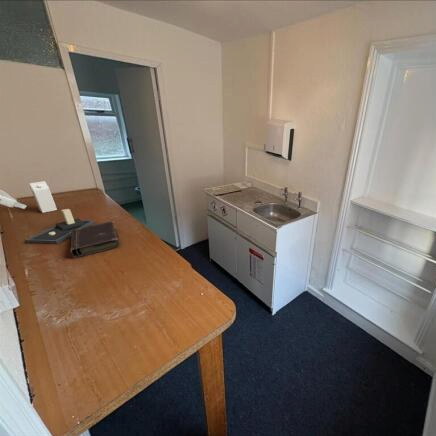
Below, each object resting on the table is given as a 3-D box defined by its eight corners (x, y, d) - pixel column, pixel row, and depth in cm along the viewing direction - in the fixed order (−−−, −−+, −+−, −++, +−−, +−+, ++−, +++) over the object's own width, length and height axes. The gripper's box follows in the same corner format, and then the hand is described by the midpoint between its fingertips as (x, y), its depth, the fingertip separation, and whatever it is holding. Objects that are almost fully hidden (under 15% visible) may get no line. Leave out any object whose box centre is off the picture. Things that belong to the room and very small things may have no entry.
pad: (33, 240, 117) (32, 236, 116) (52, 231, 126) (50, 228, 125) (54, 241, 117) (52, 237, 116) (71, 232, 126) (69, 228, 125)
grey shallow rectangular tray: (26, 243, 115) (24, 240, 115) (68, 222, 138) (68, 219, 138) (57, 243, 116) (56, 240, 115) (94, 223, 139) (93, 220, 138)
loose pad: (63, 230, 125) (57, 214, 122) (56, 225, 130) (50, 210, 126) (85, 224, 133) (80, 209, 130) (78, 220, 138) (73, 205, 134)
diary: (72, 259, 105) (68, 249, 103) (73, 237, 122) (69, 229, 120) (121, 246, 116) (119, 238, 114) (116, 228, 133) (114, 220, 131)
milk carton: (39, 210, 152) (27, 182, 145) (54, 207, 158) (43, 180, 150) (42, 213, 149) (30, 184, 141) (57, 210, 154) (46, 182, 147)
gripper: (-8, 189, 99) (33, 204, 111) (-18, 180, 109) (21, 195, 121) (-19, 201, 98) (24, 215, 109) (-29, 191, 107) (12, 205, 119)
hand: (22, 204), depth 115 cm, fingers open, 8 cm apart
